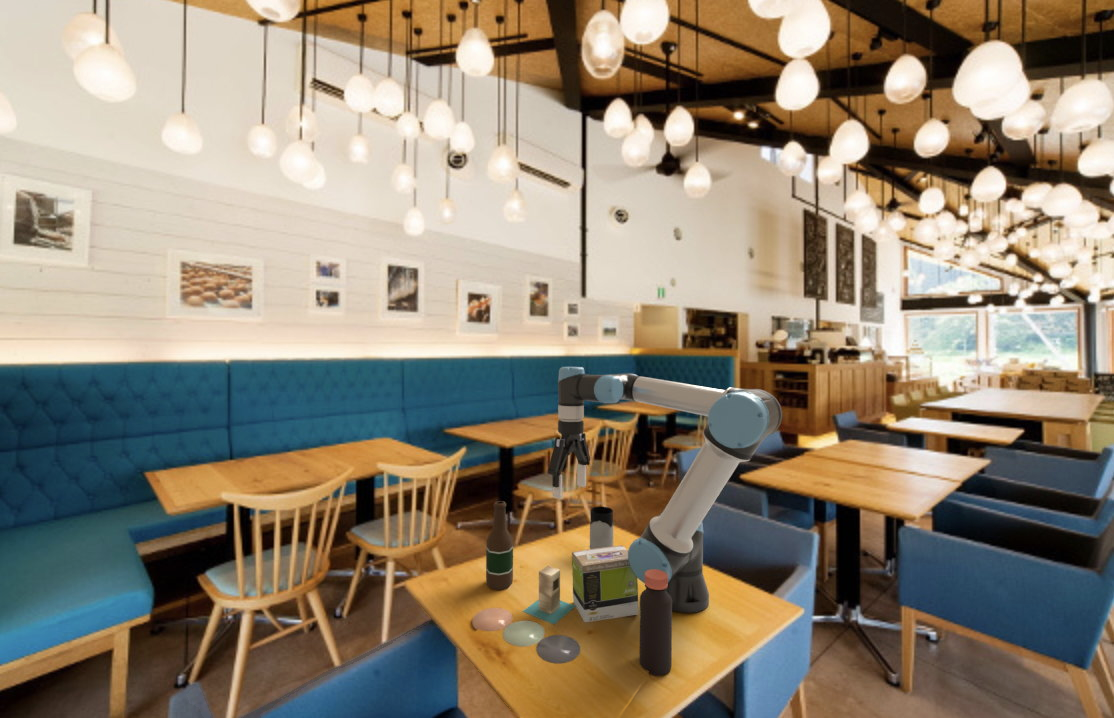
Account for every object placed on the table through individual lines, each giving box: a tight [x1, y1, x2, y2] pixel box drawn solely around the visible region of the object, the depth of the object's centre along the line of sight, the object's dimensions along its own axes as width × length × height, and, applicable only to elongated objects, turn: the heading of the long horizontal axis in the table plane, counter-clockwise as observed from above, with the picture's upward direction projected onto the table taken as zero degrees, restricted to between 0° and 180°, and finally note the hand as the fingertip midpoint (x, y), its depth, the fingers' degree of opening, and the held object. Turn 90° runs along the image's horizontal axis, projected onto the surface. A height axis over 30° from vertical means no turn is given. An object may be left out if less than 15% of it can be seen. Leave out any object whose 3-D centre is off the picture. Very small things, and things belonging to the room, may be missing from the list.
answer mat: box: [522, 599, 576, 625], centre depth 120 cm, size 10×10×1 cm
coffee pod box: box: [571, 544, 640, 623], centre depth 121 cm, size 15×10×15 cm
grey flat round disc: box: [535, 634, 581, 664], centre depth 104 cm, size 10×10×1 cm
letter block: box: [538, 565, 561, 614], centre depth 120 cm, size 4×4×10 cm
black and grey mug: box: [589, 505, 614, 549], centre depth 157 cm, size 9×14×15 cm, turn 164°
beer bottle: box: [485, 500, 514, 591], centre depth 134 cm, size 8×8×24 cm
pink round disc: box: [471, 607, 514, 632], centre depth 116 cm, size 10×10×1 cm
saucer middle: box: [502, 620, 546, 647], centre depth 110 cm, size 10×10×1 cm
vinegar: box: [638, 569, 673, 677], centre depth 99 cm, size 7×7×20 cm
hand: (569, 491), depth 135 cm, fingers open, 13 cm apart
